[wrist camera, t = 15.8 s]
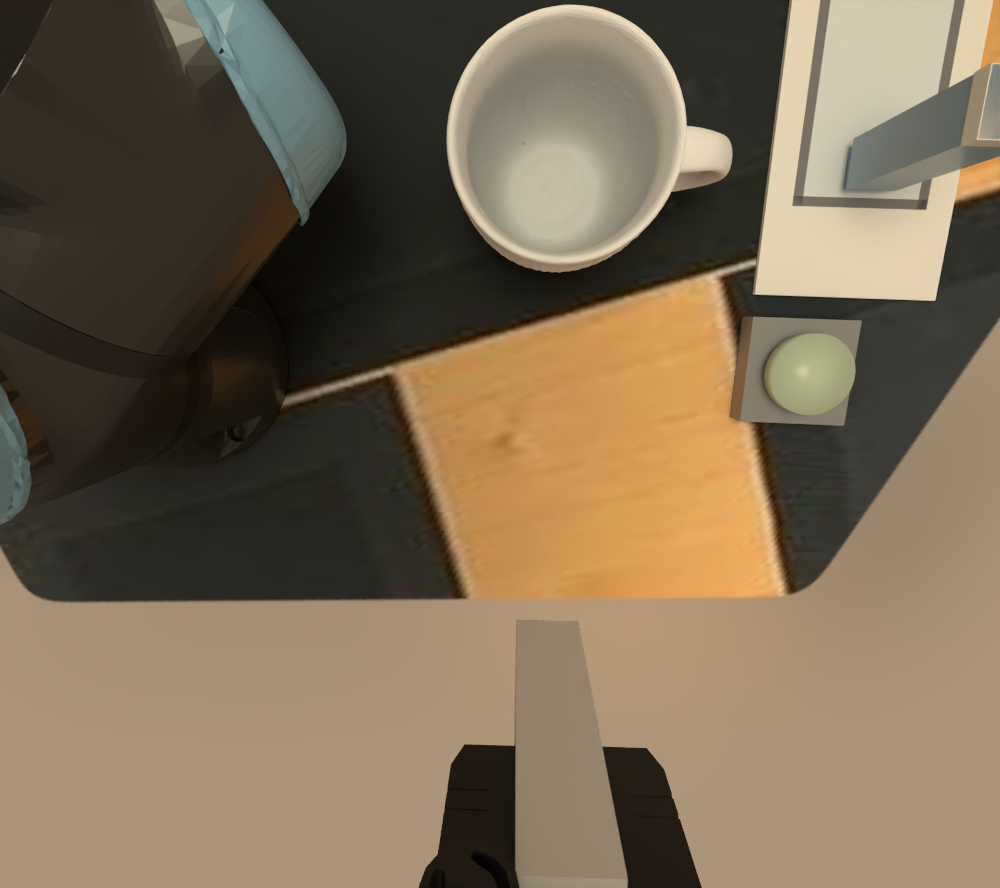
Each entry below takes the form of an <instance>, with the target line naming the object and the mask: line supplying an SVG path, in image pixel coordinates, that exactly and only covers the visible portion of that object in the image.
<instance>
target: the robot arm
mask: <svg viewBox="0 0 1000 888" xmlns="http://www.w3.org/2000/svg"><path fill="white" fill-rule="evenodd" d="M345 152H346V130H345V127H344V123H343V120H342V117H341V114H340V112H339V110H338V108H337V106H336V104H335V102H334V101H333V99H332V97H331V95H330V94H329V92H328V90H327V89H326V87H325V86H324V84H323V83H322V81H321V80H320V78H319V77H318V75H317V74H316V72H315V71H314V69H313V68H312V67H311V65H310V64H309V62H308V61H307V59H306V58H305V57H304V55H303V54H302V52H301V51H300V50H299V48H298V47H297V45H296V44H295V43H294V41H293V40H292V39H291V37H290V36H289V35H288V33H287V32H286V31H285V29H284V28H283V26H282V25H281V24H280V22H279V21H278V20H277V19H276V17H275V16H274V15H273V13H272V12H271V11H270V9H269V8H268V7H267V5H266V4H265V3H264V2H263V0H0V524H3V523H5V522H7V521H9V520H12V519H13V518H14V516H15V515H17V514H20V513H22V512H25V511H27V510H30V509H32V508H35V507H37V506H40V505H42V504H45V503H47V502H50V501H52V500H55V499H57V498H60V497H62V496H64V495H67V494H69V493H72V492H74V491H77V490H79V489H82V488H84V487H87V486H89V485H92V484H94V483H97V482H99V481H102V480H104V479H107V478H109V477H112V476H114V475H117V474H119V473H121V472H124V471H126V470H129V469H131V468H134V467H136V466H139V465H141V464H143V465H156V466H168V467H194V466H201V465H206V464H210V463H214V462H217V461H219V460H222V459H224V458H227V457H229V456H231V455H233V454H235V453H237V452H239V451H241V450H243V449H245V448H246V447H248V446H249V445H251V444H252V443H254V442H255V441H256V440H257V439H258V438H260V437H261V436H262V435H263V434H264V433H265V431H266V430H267V429H268V428H269V427H270V425H271V424H272V422H273V421H274V419H275V418H276V416H277V414H278V412H279V410H280V408H281V405H282V403H283V400H284V397H285V393H286V388H287V382H288V355H287V349H286V344H285V340H284V337H283V333H282V330H281V328H280V325H279V323H278V321H277V319H276V317H275V315H274V313H273V311H272V309H271V308H270V306H269V305H268V303H267V302H266V300H265V299H264V298H263V296H262V295H261V294H260V293H259V292H258V290H257V289H256V288H255V287H254V286H253V285H252V284H251V281H252V280H253V279H254V278H255V276H256V275H257V274H258V273H259V271H260V270H261V269H262V268H263V266H264V265H265V264H266V263H267V261H268V260H269V259H270V258H271V256H272V255H273V254H274V253H275V251H276V250H277V249H278V248H279V246H280V245H281V244H282V243H283V241H284V240H285V239H286V237H287V236H288V235H289V234H290V232H291V231H292V230H293V229H294V227H295V226H296V225H297V224H299V225H301V226H302V225H304V224H305V223H306V221H307V220H308V218H309V209H310V208H311V206H312V205H313V203H314V202H315V201H316V199H317V198H318V196H319V195H320V194H321V192H322V191H323V189H324V188H325V187H326V185H327V184H328V183H329V181H330V180H331V178H332V177H333V176H334V174H335V173H336V171H337V170H338V169H339V167H340V166H341V164H342V161H343V159H344V156H345ZM516 621H517V622H516V671H515V675H516V676H515V740H514V742H515V744H514V746H497V745H466V744H465V745H464V746H463V748H462V749H461V751H460V752H459V753H458V755H457V756H456V758H455V759H454V761H453V762H452V764H451V769H450V775H449V782H448V792H447V796H446V802H445V812H444V816H443V823H442V830H441V837H440V844H439V850H438V855H437V856H436V857H435V858H434V859H433V860H432V861H431V863H430V864H429V865H428V866H427V867H426V869H425V872H424V874H423V877H422V880H421V882H420V885H419V888H702V887H701V884H700V881H699V878H698V875H697V872H696V869H695V866H694V862H693V859H692V856H691V853H690V850H689V847H688V843H687V840H686V838H685V834H684V831H683V828H682V825H681V821H680V819H679V818H678V812H677V809H676V806H675V803H674V799H673V798H672V794H671V790H670V787H669V784H668V781H667V777H666V775H665V771H664V769H663V768H662V766H661V765H660V764H659V763H658V762H657V760H656V759H655V758H654V757H653V755H652V754H651V753H650V752H649V751H648V749H647V748H624V747H602V743H601V738H600V733H599V727H598V722H597V718H596V712H595V707H594V702H593V696H592V691H591V686H590V681H589V676H588V671H587V666H586V661H585V656H584V650H583V645H582V640H581V634H580V629H579V624H578V622H577V621H538V620H516Z"/></svg>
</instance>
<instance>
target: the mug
mask: <svg viewBox="0 0 1000 888" xmlns="http://www.w3.org/2000/svg"><path fill="white" fill-rule="evenodd" d="M447 155H448V163H449V168H450V173H451V177H452V180H453V183H454V186H455V189H456V191H457V194H458V196H459V198H460V200H461V202H462V205H463V208H464V210H465V211H466V213H467V215H468V216H469V218H470V220H471V221H472V223H473V225H474V226H475V227H476V229H477V231H478V232H479V233H480V235H482V236H483V238H484V239H485V241H487V243H488V244H490V245H491V246H492V248H494V249H495V250H496V251H498V252H499V253H500V254H501V255H502V256H505V257H506V258H507V259H509V260H510V261H514V262H515V263H517V264H518V265H522V266H524V267H526V268H532V269H534V270H540V271H542V272H546V271H548V272H558V273H559V272H564V271H568V272H569V271H572V270H579V269H581V268H586V267H589V266H591V265H594V264H597V263H599V262H601V261H602V260H605V259H607V258H609V257H611V256H612V255H613V254H615V253H617V252H619V251H621V250H622V249H623V247H625V246H627V245H628V244H629V243H630V242H631V241H632V240H633V239H635V238H636V237H638V236H639V234H640V233H641V232H642V231H643V230H644V229H645V228H646V227H647V226H648V225H649V224H650V223H651V222H652V221H653V219H654V218H655V217H656V216H657V214H658V213H659V212H660V210H661V209H662V207H663V206H664V204H665V202H666V201H667V199H668V197H669V195H670V193H671V192H674V191H680V190H685V189H690V188H696V187H700V186H704V185H708V184H711V183H714V182H716V181H719V180H721V179H722V178H724V177H725V176H726V175H727V174H728V172H729V169H730V167H731V162H732V146H731V143H730V141H729V139H728V138H727V137H726V136H725V135H723V134H720V133H718V132H715V131H712V130H708V129H704V128H700V127H691V126H686V111H685V104H684V100H683V96H682V92H681V88H680V85H679V83H678V80H677V77H676V75H675V72H674V70H673V68H672V67H671V65H670V63H669V61H668V60H667V58H666V57H665V55H664V54H663V52H662V51H661V50H660V49H659V47H658V46H657V45H656V44H655V42H654V41H653V40H652V39H651V38H650V37H649V36H648V35H647V34H646V33H644V32H643V31H642V30H641V29H640V28H639V27H637V26H636V25H634V24H633V23H631V22H630V21H628V20H626V19H624V18H623V17H621V16H619V15H616V14H614V13H612V12H609V11H606V10H604V9H600V8H596V7H590V6H583V5H560V6H553V7H548V8H543V9H539V10H536V11H534V12H531V13H529V14H526V15H524V16H521V17H519V18H517V19H516V20H514V21H512V22H510V23H509V24H507V25H505V26H504V27H503V28H501V29H500V30H498V31H497V32H496V33H495V34H494V35H493V36H491V37H490V38H489V39H488V40H487V41H486V42H485V43H484V44H483V45H482V46H481V47H480V49H479V50H478V51H477V52H476V54H475V55H474V56H473V58H472V59H471V61H470V62H469V63H468V65H467V67H466V68H465V70H464V72H463V74H462V76H461V78H460V80H459V83H458V85H457V87H456V90H455V93H454V96H453V98H452V102H451V107H450V111H449V116H448V124H447Z"/></svg>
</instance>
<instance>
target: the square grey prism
mask: <svg viewBox="0 0 1000 888" xmlns="http://www.w3.org/2000/svg"><path fill="white" fill-rule="evenodd" d="M998 156H1000V63H991V64H989V65H987V66H985V67H983V68H981V69H979V70H978V71H976V72H974V74H973V75H971V76H970V77H968V78H966V79H964V80H962V81H960V82H958V83H957V84H955V85H953V86H951V87H949V88H947V89H945V90H943V91H942V92H940V93H938V94H936V95H934V96H932V97H930V98H928V99H927V100H925V101H923V102H921V103H919V104H917V105H915V106H914V107H912V108H910V109H908V110H906V111H904V112H902V113H900V114H899V115H897V116H895V117H893V118H891V119H889V120H887V121H886V122H884V123H882V124H880V125H878V126H876V127H874V128H872V129H871V130H869V131H867V132H865V133H863V134H861V135H859V136H857V137H856V138H854V140H853V147H851V148H849V152H848V159H847V165H846V172H845V178H844V185H843V188H846V190H865V191H896V190H899V189H902V188H905V187H908V186H911V185H914V184H917V183H920V182H923V181H926V180H929V179H932V178H935V177H938V176H941V175H944V174H947V173H950V172H953V171H956V170H959V169H962V168H965V167H968V166H971V165H974V164H977V163H980V162H983V161H986V160H989V159H992V158H995V157H998Z"/></svg>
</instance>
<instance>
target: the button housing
mask: <svg viewBox="0 0 1000 888" xmlns="http://www.w3.org/2000/svg"><path fill="white" fill-rule="evenodd" d="M860 327H861V321H856V320H829V319H801V318H774V317H742V323H741V331H740V339H739V347H738V355H737V363H736V371H735V379H734V387H733V396H732V404H731V412H730V417H732V418H734V419H736V420H738V421H744V422H768V423H792V424H816V425H840V426H844V423H845V417H846V411H847V405H848V399H849V393H850V391H849V393H848V394H847V396H846V397H845V398H844V399H843V401H842V402H840V403H839V404H838V405H837V406H836V407H834V408H833V409H831V410H829V411H827V412H824V413H821V414H817V415H801V414H797V413H794V412H792V411H789V410H786V409H784V408H782V407H780V406H779V405H777V404H776V403H775V402H774V401H773V400H772V399H771V397H770V396H769V394H768V392H767V390H766V387H765V382H764V372H765V367H766V364H767V361H768V359H769V357H770V355H771V354H772V352H773V351H774V350H775V348H776V347H777V346H778V345H779V344H781V343H782V342H783V341H785V340H786V339H788V338H790V337H792V336H795V335H798V334H803V333H819V334H827V335H831V336H833V337H836V338H837V339H839V340H841V341H842V342H843V343H844V344H845V345H846V346H847V347H848V348H849V350H850V351H851V353H852V355H853V358H854V362H855V357H856V351H857V345H858V339H859V333H860Z"/></svg>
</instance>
